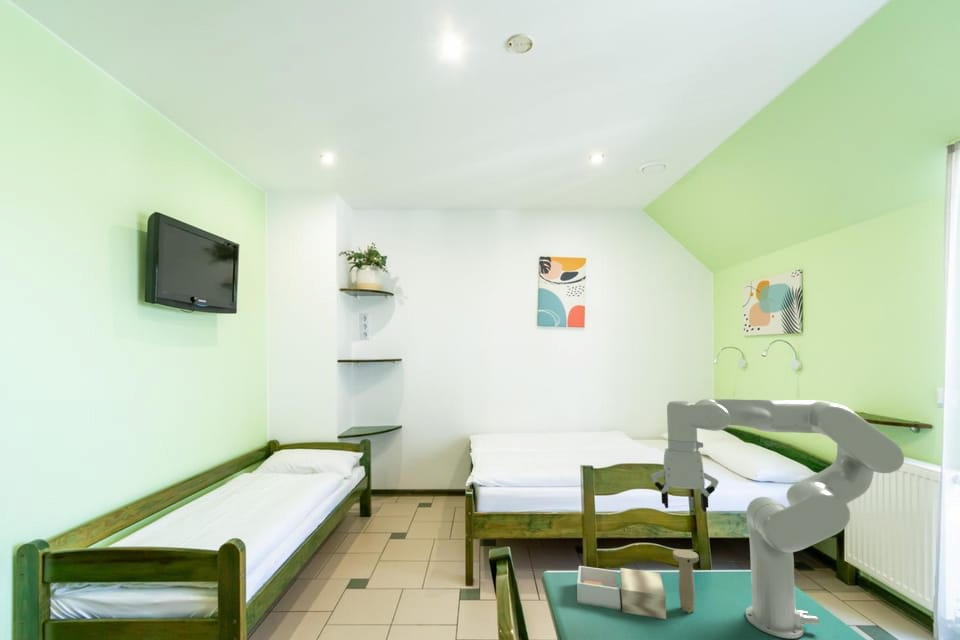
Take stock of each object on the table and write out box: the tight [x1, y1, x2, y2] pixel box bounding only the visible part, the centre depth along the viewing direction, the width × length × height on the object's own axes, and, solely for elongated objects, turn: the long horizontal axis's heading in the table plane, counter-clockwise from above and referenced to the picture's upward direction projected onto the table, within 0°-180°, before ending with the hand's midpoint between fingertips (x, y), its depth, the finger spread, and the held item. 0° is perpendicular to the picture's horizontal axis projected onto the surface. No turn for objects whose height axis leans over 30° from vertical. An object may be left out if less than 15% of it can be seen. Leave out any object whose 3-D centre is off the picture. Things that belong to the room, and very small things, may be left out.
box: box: [576, 565, 621, 611], centre depth 125 cm, size 12×10×5 cm
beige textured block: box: [619, 567, 667, 620], centre depth 122 cm, size 11×12×6 cm
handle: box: [672, 549, 699, 614], centre depth 119 cm, size 5×6×15 cm
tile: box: [584, 580, 602, 586], centre depth 125 cm, size 5×5×2 cm
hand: (684, 508), depth 120 cm, fingers open, 9 cm apart
